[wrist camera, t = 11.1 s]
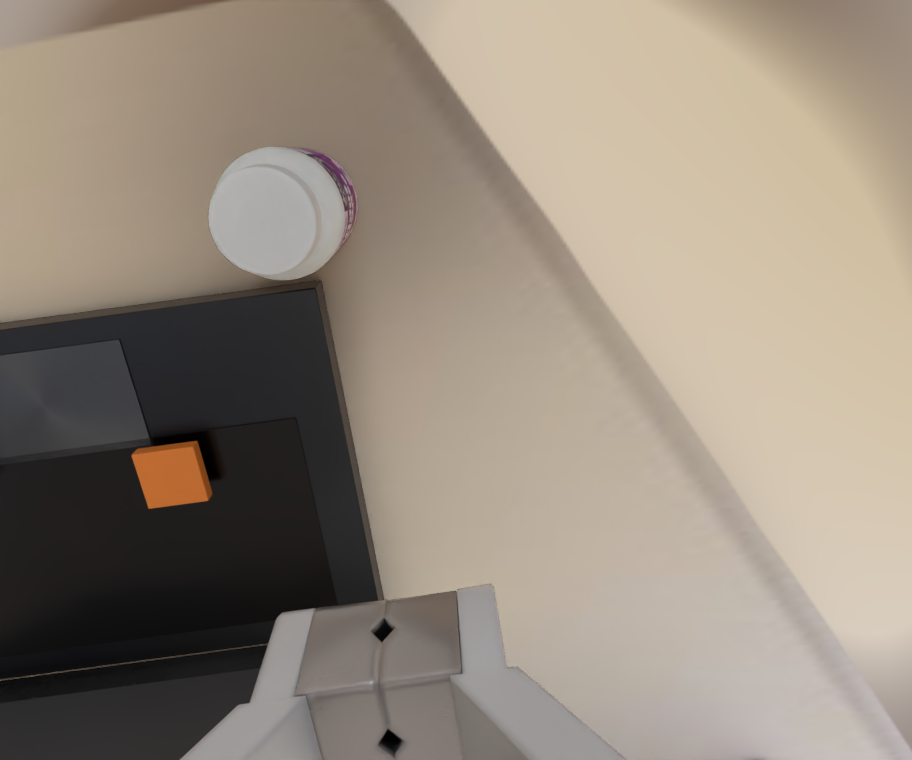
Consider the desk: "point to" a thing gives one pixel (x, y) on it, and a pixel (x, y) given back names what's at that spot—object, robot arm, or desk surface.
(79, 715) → the laptop screen
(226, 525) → the laptop
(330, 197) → the pill bottle
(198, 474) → the orange block
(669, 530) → the desk surface
